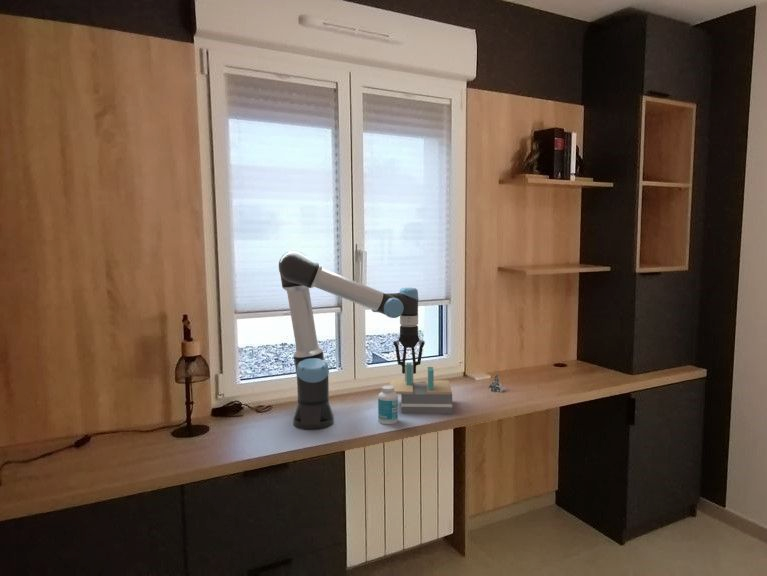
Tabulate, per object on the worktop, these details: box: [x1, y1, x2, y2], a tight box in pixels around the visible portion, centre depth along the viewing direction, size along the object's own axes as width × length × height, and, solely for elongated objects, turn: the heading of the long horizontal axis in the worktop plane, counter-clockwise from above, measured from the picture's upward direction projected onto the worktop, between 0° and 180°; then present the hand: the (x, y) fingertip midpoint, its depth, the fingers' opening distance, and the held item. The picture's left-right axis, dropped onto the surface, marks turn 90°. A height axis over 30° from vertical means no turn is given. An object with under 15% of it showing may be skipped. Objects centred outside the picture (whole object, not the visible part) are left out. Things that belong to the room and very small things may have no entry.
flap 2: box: [425, 366, 453, 395], centre depth 207 cm, size 10×16×9 cm, turn 178°
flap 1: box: [388, 362, 414, 395], centre depth 207 cm, size 10×16×9 cm, turn 178°
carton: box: [400, 382, 453, 415], centre depth 208 cm, size 20×16×8 cm
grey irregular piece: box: [488, 374, 506, 394], centre depth 229 cm, size 9×9×8 cm
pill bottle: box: [377, 385, 399, 426], centre depth 191 cm, size 8×7×14 cm
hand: (409, 380), depth 211 cm, fingers closed on flap 1, 2 cm apart
